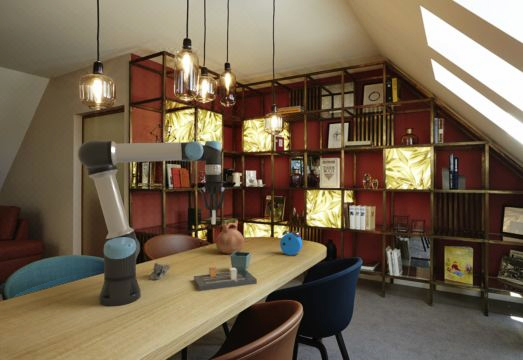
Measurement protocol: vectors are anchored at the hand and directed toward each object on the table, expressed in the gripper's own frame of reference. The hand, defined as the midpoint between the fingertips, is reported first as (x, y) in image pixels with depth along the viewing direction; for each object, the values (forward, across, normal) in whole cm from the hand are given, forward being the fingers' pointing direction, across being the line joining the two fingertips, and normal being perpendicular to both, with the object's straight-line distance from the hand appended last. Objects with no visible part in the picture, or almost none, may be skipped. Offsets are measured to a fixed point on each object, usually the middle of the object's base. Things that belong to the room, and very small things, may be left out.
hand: (213, 223), depth 151 cm
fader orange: (+24, -1, -2) cm, 24 cm away
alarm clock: (+27, +56, +30) cm, 69 cm away
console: (+26, +4, -6) cm, 27 cm away
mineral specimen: (+27, -23, +14) cm, 38 cm away
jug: (+27, +22, +50) cm, 61 cm away
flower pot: (+27, +16, +8) cm, 32 cm away
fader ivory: (+24, +7, -9) cm, 27 cm away
